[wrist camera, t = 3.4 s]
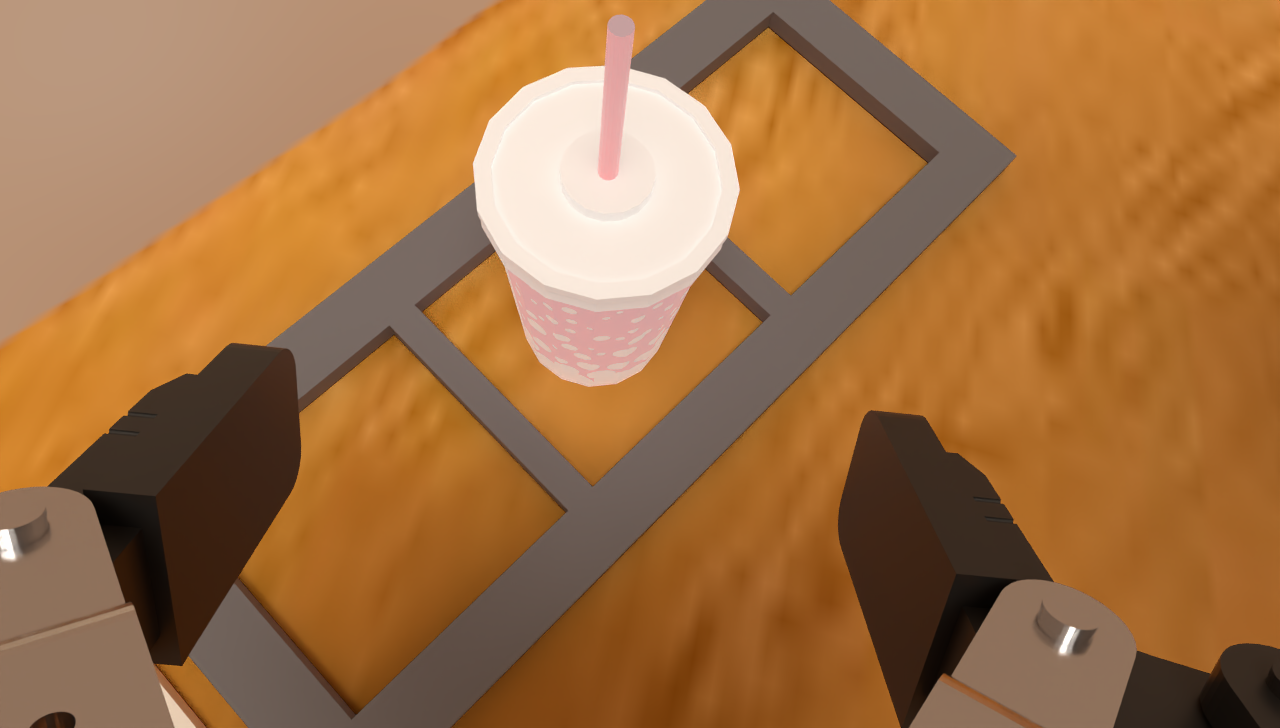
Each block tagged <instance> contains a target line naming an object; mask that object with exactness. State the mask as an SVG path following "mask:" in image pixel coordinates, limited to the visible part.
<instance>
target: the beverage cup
mask: <svg viewBox="0 0 1280 728" xmlns="http://www.w3.org/2000/svg"><path fill="white" fill-rule="evenodd" d="M634 30H635V25H634V22H633V21H632V19H631V18H629V17H628V16H625V15H616V16H613V17H612V18H611V19H610V20H609V22H608V28H607V43H606V57H605V66H595V67H578V68H567V69H564V70H562V71H560V72H557V73H555V74H553V75H550V76H548V77H545V78H543V79H541V80H538V81H536V82H534V83H531V84H529V85H527V86H524V87H523V88H522V89H521V90H520V91H518V92H517V93H516V94H515V95H514V96H513V97H512V98H511V99H510V100H509V101H508V102H507V103H506V104H505V105H504V106H503V107H502V108H501V109H500V110H499V111H498V112H497V113H496V114H495V115H494V116H493V117H492V118H491V119H490V120H489V123H488V126H487V128H486V131H485V133H484V136H483V139H482V141H481V144H480V147H479V149H478V152H477V154H476V157H475V160H474V162H473V168H474V180H475V192H476V204H477V212H478V217H479V218H480V220H481V226H482V228H483V230H484V231H485V233H486V235H487V237H488V238H489V240H490V242H491V244H492V245H493V247H494V249H495V251H496V252H497V254H498V256H499V258H500V259H501V261H502V263H503V265H504V266H505V269H506V273H507V276H508V279H509V282H510V286H511V289H512V292H513V296H514V299H515V302H516V306H517V309H518V312H519V315H520V319H521V322H522V325H523V329H524V332H525V335H526V339H527V341H528V342H529V344H530V346H531V348H532V349H533V351H534V353H535V355H536V356H537V358H538V360H539V362H540V363H541V364H543V365H544V366H545V367H547V368H548V369H549V370H551V371H552V372H553V373H554V374H556V375H557V376H558V377H560V378H561V379H563V380H567V381H570V382H574V383H578V384H581V385H585V386H588V387H590V386H600V385H610V384H617V383H619V382H621V381H623V380H625V379H627V378H629V377H631V376H632V375H634V374H636V373H638V372H640V371H641V370H642V369H643V368H644V367H645V365H646V364H647V363H648V362H649V361H650V359H651V358H652V357H653V356H654V354H655V353H656V352H657V351H658V349H659V347H660V345H661V343H662V341H663V339H664V337H665V335H666V333H667V331H668V329H669V327H670V325H671V323H672V322H673V320H674V318H675V316H676V314H677V312H678V310H679V308H680V306H681V304H682V302H683V300H684V298H685V296H686V294H687V292H688V290H689V288H690V286H691V285H692V284H693V282H694V281H695V280H696V279H697V278H698V276H699V275H700V274H701V273H702V272H703V270H704V269H705V268H706V267H707V265H708V264H709V263H710V262H711V261H712V259H713V258H714V257H715V256H716V255H717V253H718V252H719V251H720V250H721V247H722V244H723V243H724V242H725V240H726V239H727V236H728V233H729V229H730V225H731V221H732V218H733V214H734V210H735V206H736V202H737V198H738V194H739V190H740V189H739V183H738V178H737V173H736V168H735V162H734V157H733V152H732V146H731V144H730V142H729V141H728V139H727V138H726V137H725V135H724V134H723V132H722V131H721V129H720V128H719V126H718V125H717V123H716V122H715V120H714V119H713V117H712V116H711V114H710V113H709V111H708V110H707V109H706V107H705V106H704V105H703V104H701V103H700V102H698V101H697V100H695V99H694V98H692V97H691V96H690V95H688V94H687V93H685V92H684V91H682V90H681V89H680V88H678V87H677V86H675V85H674V84H672V83H671V82H669V81H668V80H667V79H665V78H662V77H658V76H654V75H651V74H647V73H644V72H640V71H636V70H633V69H630V65H631V56H632V48H633V39H634Z"/></svg>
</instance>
